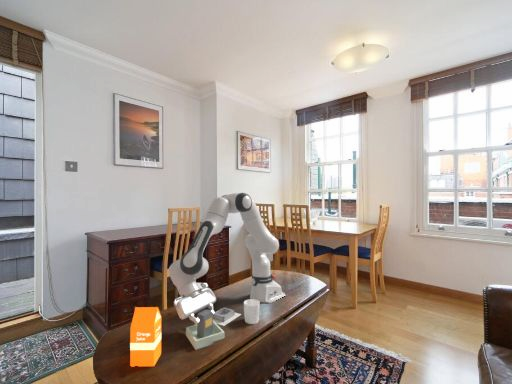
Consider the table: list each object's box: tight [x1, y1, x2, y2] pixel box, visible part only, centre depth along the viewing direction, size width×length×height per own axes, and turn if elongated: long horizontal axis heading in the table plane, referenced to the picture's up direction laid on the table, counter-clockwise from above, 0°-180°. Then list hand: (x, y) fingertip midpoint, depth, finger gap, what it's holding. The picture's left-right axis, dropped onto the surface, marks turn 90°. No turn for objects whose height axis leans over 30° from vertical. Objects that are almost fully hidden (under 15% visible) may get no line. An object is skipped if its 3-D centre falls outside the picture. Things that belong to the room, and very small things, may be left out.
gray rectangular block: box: [196, 308, 213, 338], centre depth 113 cm, size 6×4×10 cm
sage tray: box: [185, 321, 226, 351], centre depth 113 cm, size 13×13×4 cm
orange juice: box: [129, 306, 162, 368], centre depth 98 cm, size 8×9×20 cm
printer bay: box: [213, 306, 242, 327], centre depth 130 cm, size 14×12×4 cm
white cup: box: [243, 298, 261, 325], centre depth 127 cm, size 8×8×10 cm
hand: (205, 318), depth 113 cm, fingers open, 8 cm apart
